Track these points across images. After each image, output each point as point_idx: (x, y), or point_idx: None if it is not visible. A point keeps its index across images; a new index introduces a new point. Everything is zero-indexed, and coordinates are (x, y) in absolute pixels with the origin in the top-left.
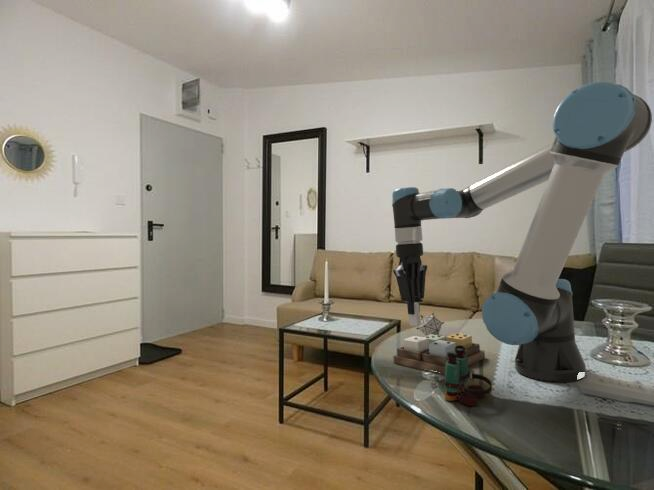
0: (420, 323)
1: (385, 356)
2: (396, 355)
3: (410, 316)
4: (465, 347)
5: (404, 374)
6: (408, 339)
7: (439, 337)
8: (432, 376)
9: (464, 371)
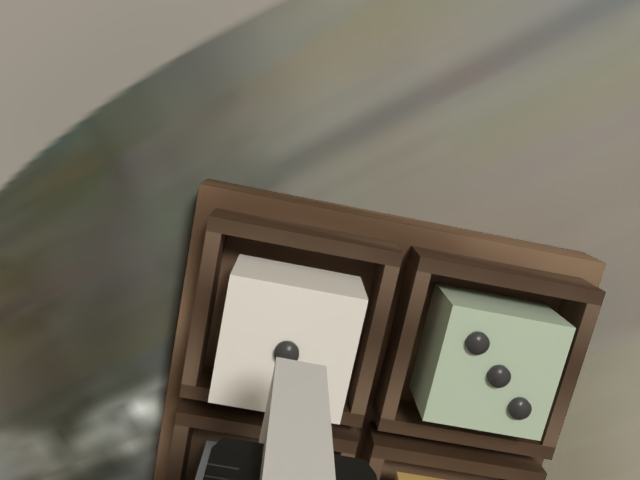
0: None
1: (304, 60)
2: (217, 198)
3: (267, 421)
4: None
5: (66, 320)
6: (250, 308)
7: (498, 418)
8: (113, 450)
9: None
